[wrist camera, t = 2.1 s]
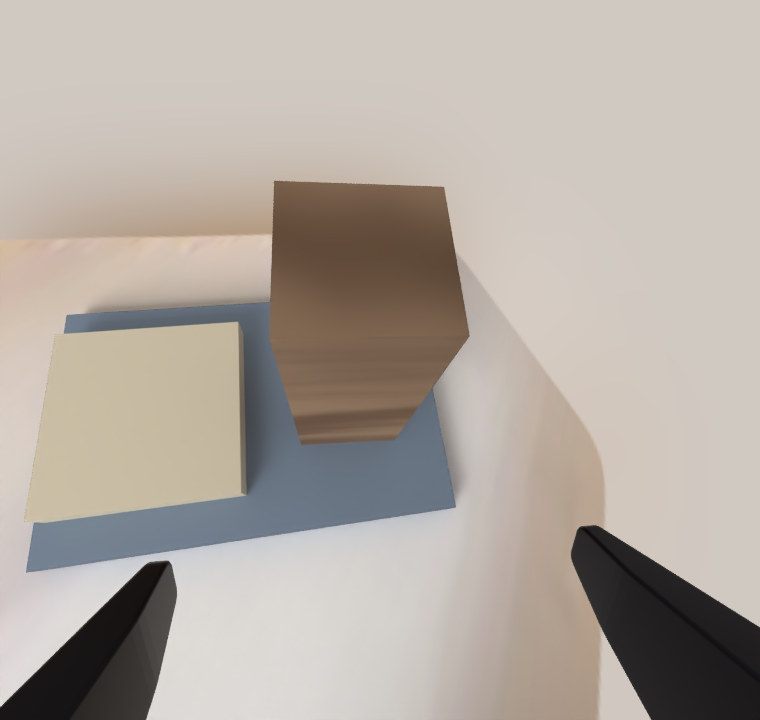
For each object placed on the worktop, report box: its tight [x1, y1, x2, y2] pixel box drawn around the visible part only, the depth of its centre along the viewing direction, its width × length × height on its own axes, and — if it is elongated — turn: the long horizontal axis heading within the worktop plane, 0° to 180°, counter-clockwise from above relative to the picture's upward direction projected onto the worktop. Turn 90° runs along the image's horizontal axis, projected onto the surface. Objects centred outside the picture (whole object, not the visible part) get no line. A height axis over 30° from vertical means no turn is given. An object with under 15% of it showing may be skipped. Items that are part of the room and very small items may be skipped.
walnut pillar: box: [269, 181, 470, 445], centre depth 17 cm, size 5×5×13 cm
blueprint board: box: [24, 302, 456, 572], centre depth 22 cm, size 20×13×2 cm, turn 98°
